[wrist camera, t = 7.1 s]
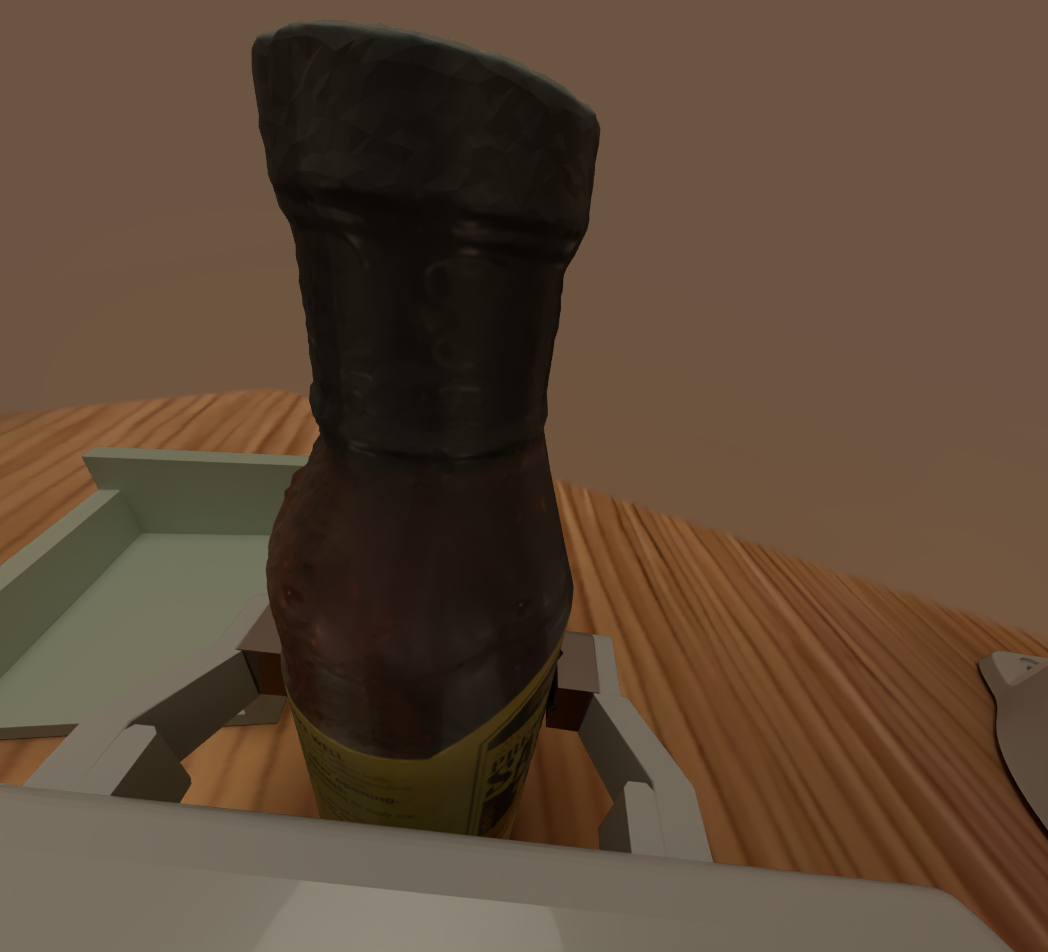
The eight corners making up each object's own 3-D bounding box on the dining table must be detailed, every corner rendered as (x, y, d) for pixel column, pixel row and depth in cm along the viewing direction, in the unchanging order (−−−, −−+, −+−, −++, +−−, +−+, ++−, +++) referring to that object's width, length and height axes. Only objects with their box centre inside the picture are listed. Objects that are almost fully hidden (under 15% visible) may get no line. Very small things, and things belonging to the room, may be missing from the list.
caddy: (344, 535, 26) (333, 457, 23) (277, 723, 17) (243, 633, 14) (138, 532, 24) (96, 446, 21) (-72, 743, 15) (-204, 644, 12)
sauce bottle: (505, 943, 12) (969, -24, 2) (297, 926, 12) (-517, -302, 2) (516, 721, 18) (649, 156, 7) (373, 705, 18) (300, 98, 7)
